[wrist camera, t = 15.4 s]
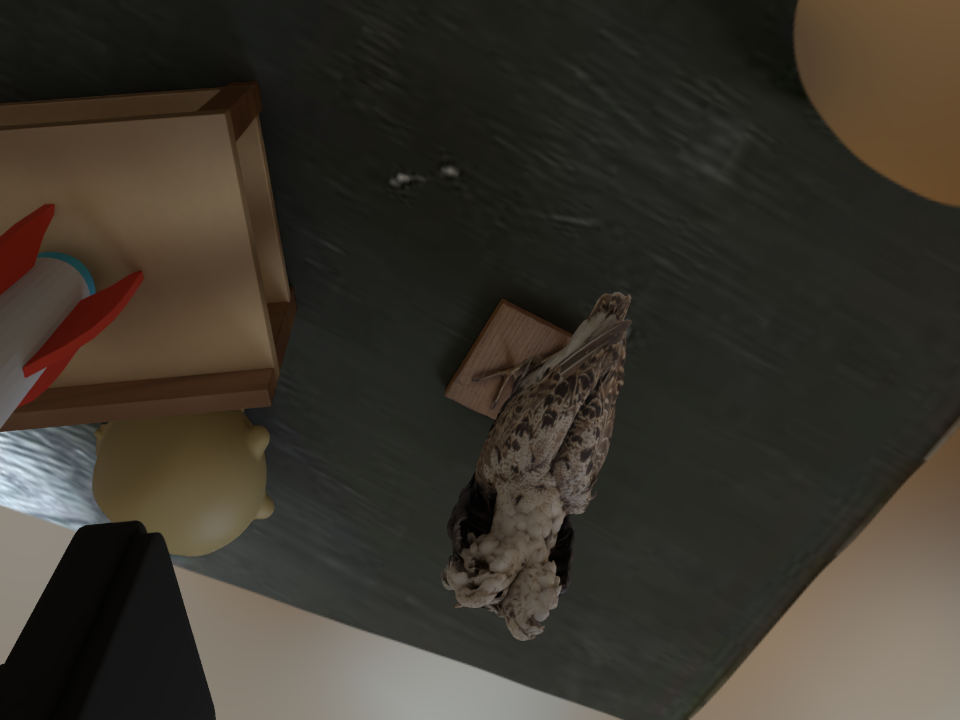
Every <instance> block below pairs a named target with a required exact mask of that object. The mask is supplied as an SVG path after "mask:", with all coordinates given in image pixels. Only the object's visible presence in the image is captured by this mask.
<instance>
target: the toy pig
mask: <svg viewBox="0 0 960 720" xmlns="http://www.w3.org/2000/svg"><path fill="white" fill-rule="evenodd" d="M243 412H244V409H237V410H226V411H216V412H205V413H195V414H184V415H173V416H163V417H152V418H142V419H131V420H121V421H110V422H101V426H100V428H99V430H96V431H95V436H96V437H97V442H96V455H97V460H96V464H95V468H94V473H93V481H92V490H93V495H94V498H95V501H96V503H97V504H98V506H99V507H100V509H101V510H102V512H103V513H104V514H105V515H106V517H107V518H108V519H109V520H110V521H111V522H112V523H114V522H124V521H134V520H137V521H140V522H142V523H143V525H144V526H145V527H146V530H147V532H148V533H153V532H159V533H161V534H162V535H163V537H164V539H165V542H166V544H167V548H168V551H169V553H171V554H175V555H180V556H202V555H206V554H209V553H211V552H214V551H216V550H218V549H220V548H222V547H224V546H225V545H227V544H229V543H230V542H231V541H233V540H234V539H235V538H237V537H238V536H239V535H240V534H241V533H242V532H243V531H244V530H245V529H246V528H247V527H248V526H249V524H250V523H251V522H252V520H254V519H266V518H268V517H269V516H270V515H271V514H272V513H273V511H274V502H273V500H272V499H271V498H270V496H269V495H268V494H267V493H266V491H265V487H266V478H267V468H266V459H265V454H264V450H265V449H266V447H267V445H268V443H269V439H270V436H269V432H268V430H267V429H266V428H265V427H263V426H260V425H256V426H253V425H252V423H251V422H250V420H249V419H248V418H247V417H246V416H245V415H244V414H243Z"/></svg>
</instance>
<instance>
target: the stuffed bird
mask: <svg viewBox="0 0 960 720" xmlns="http://www.w3.org/2000/svg"><path fill="white" fill-rule="evenodd" d="M630 299H631V297H630V295H629V294H628V295H627V297H625V296H624V295H623V294H622V293H619V292H615V293H613V294H606V293H605V294H603V295H602V296H601V297H600V298H599V299H598V301H597V303H596V305H595V307H594V309H593V310H592V312H591V314H590V316H589V318H588V319H587V320H585V321H583V322H582V323H581V324H580V326H579V327H578V329H577V330H576V331H575V333H574V334H571V333H569V332H567V331H565V330H564V329H561V328H559V327H557V326H555V325H554V324H552V323H550V322H548V321H546V320H544V319H542V318H540V317H538V316H536V315H534V314H533V313H530V312H528V311H526V310H524V309H522V308H521V307H519V306H517V305H515V304H513V303H511V302H509V301H507V300H505V299H503V298H502V299H501V300H500V302H499V304H498V305H497V307H496V308H495V310H494V312H493V313H492V315H491V316H490V318H489V320H488V321H487V323H486V325H485V326H484V328H483V329H482V331H481V333H480V334H479V336H478V337H477V339H476V341H475V342H474V344H473V346H472V347H471V349H470V350H469V352H468V354H467V355H466V357H465V358H464V360H463V362H462V363H461V365H460V366H459V368H458V370H457V371H456V373H455V374H454V376H453V378H452V379H451V381H450V382H449V384H448V386H447V388H446V390H445V397H446V398H450V399H452V400H454V401H456V402H458V403H460V404H462V405H464V406H466V407H468V408H470V409H472V410H474V411H476V412H478V413H481V414H483V415H485V416H489V417H490V418H492V419H495V421H494V423H493V425H492V427H491V429H490V431H489V432H490V433H489V435H488V437H487V439H486V441H485V443H484V445H483V447H482V450H481V453H480V456H479V459H478V462H477V467H476V472H475V473H474V474H473V476H472V479H471V480H470V482H469V484H468V485H467V486H466V487H465V488H463V489H462V491H461V493H460V496H459V500H458V503H457V505H455V506H454V508H453V511H452V514H451V518H450V520H449V522H448V525H447V531H448V535H449V537H450V539H451V540H452V543H453V556H451V555H450V557H449V558H448V564H447V566H446V569H445V571H444V569H442V573H441V578H442V582H443V585H444V587H445V588H446V589H448V590H454V591H455V593H456V599H457V600H458V602H459V603H458V604H456V605H455V606H454V607H455V608H459V607H462V606H466V607H471V608H478V607H481V606H482V608H486V609H487V610H488V611H491V612H492V611H493V612H495V613H496V614H497V615H498V616H500V617H504V618H505V620H506V625H507V627H508V629H509V630H510V632H511V633H512V635H513V636H514V637H515V638H516V639H518V640H521V641H525V640H528V639H533V638H535V637H536V635H537V634H540V633H542V632H543V631H544V630H543V631H542V629H544V627H545V626H544V625H543V626H540V624H539V623H538V621H541V622H542V621H543V620H545V619H546V618H547V617H548V616H549V610H550V609H554V608H556V607H557V606H558V605H557V603H558V597H559V596H561V595H562V594H563V593H565V592H566V591H567V590H568V588H569V584H570V582H571V575H572V569H571V563H572V561H573V558H574V552H573V543H574V537H575V532H574V531H573V528H572V526H571V523H570V522H569V521H568V520H569V517H570V516H569V514H581V513H583V512H585V511H586V509H587V507H588V504H589V503H590V502H591V501H592V500H593V498H594V497H595V496H596V494H597V491H596V493H594V495H593V496H592V497H591V492H590V491H591V490H592V488H593V487H594V485H595V483H596V481H597V478H598V477H597V478H596V476H597V474H598V472H599V470H600V468H601V467H602V465H603V463H604V461H605V458H606V455H607V452H608V449H609V445H610V441H611V436H612V430H613V426H614V421H615V404H616V398H617V396H618V393H619V390H620V388H621V387H622V385H623V384H622V383H624V382H623V378H624V365H625V361H626V359H625V355H626V347H627V346H626V339H625V338H626V337H625V334H626V330H627V329H628V327H629V326H630V325H631V322H632V321H631V320H624V317H625V315H626V313H627V310H628V307H629V304H630V301H631V300H630ZM623 320H624V321H623ZM624 359H625V361H624ZM623 362H624V364H623ZM622 366H623V368H622ZM595 478H596V480H595ZM594 480H595V481H594Z"/></svg>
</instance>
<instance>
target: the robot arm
mask: <svg viewBox="0 0 960 720" xmlns="http://www.w3.org/2000/svg"><path fill="white" fill-rule="evenodd" d="M0 720H216V717H215V709H214V705H213V702H212V698H211V694H210V691H209V688H208V684H207V681H206V677H205V674H204V671H203V668H202V664H201V660H200V657H199V654H198V650H197V647H196V643H195V640H194V636H193V633H192V630H191V627H190V623H189V619H188V616H187V613H186V609H185V606H184V603H183V599H182V596H181V592H180V589H179V585H178V582H177V579H176V575H175V572H174V568H173V565H172V561H171V558H170V555H169V551H168V548H167V544H166V542H165V539H164V537H163V535H162V534H161V533H159V532H153V533H148V532H147V530H146V527H145V526H144V525H143V523H142V522H140V521H137V520H134V521H124V522H114V523H104V524H94V525H85V526H83V527H81V528H79V529H78V531H77V532H76V533H75V535H74V537H73V538H72V540H71V542H70V544H69V546H68V548H67V549H66V551H65V553H64V555H63V557H62V559H61V560H60V562H59V564H58V566H57V568H56V570H55V572H54V573H53V575H52V577H51V579H50V581H49V583H48V584H47V586H46V588H45V590H44V592H43V593H42V595H41V597H40V599H39V601H38V603H37V605H36V606H35V608H34V610H33V612H32V614H31V616H30V617H29V619H28V621H27V623H26V625H25V627H24V629H23V630H22V632H21V634H20V636H19V638H18V640H17V641H16V643H15V645H14V647H13V649H12V651H11V652H10V654H9V656H8V658H7V660H6V662H5V664H1V665H0Z"/></svg>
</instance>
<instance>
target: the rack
mask: <svg viewBox="0 0 960 720" xmlns="http://www.w3.org/2000/svg"><path fill="white" fill-rule="evenodd" d="M261 110H262V103H261V97H260V91H259V86H258V82H257V81H245V82H231V83H229V84H228V85H226V86H225V87H215V88H201V89H188V90H174V91H161V92H147V93H134V94H120V95H107V96H93V97H80V98H66V99H53V100H39V101H26V102H12V103H0V236H1V235H3V234H4V233H5V232H6V231H7V230H8V229H9V228H11V227H12V226H13V225H14V224H15V223H17V222H18V221H20V220H21V219H23V218H24V217H26V216H27V215H29V214H30V213H32V212H33V211H35V210H36V209H38V208H39V207H41V206H42V205H44V204H55V206H54V216H53V218H52V220H51V222H50V224H49V226H48V228H47V230H46V232H45V234H44V237H43V240H42V243H41V246H40V249H39V252H38V253H42V252H59V253H64V254H67V255H70V256H72V257H74V258H76V259H78V260H79V261H80V262H81V263H82V264H84V265H85V267H86V268H87V269H88V270H89V272H90V274H91V276H92V278H93V281H94V284H95V291H96V293H97V292H99V291H101V290H103V289H105V288H108V287H110V286H112V285H113V284H115V283H117V282H118V281H120V280H121V279H123V278H125V277H126V276H128V275H129V274H131V273H134V272H138V271H142V272H143V277H144V280H143V281H142V283H141V284H140V286H139V287H138V289H137V290H136V292H135V293H134V295H133V296H132V298H131V299H130V301H129V302H128V304H127V305H126V307H125V308H124V309H123V310H122V311H121V312H120V314H119V315H118V316H117V317H116V318H115V319H114V321H113V322H112V323H110V324H109V325H108V326H107V327H106V328H105V329H104V330H103V331H101V332H100V333H99V334H98V335H97V336H96V337H95V338H94V339H92V340H91V341H89V342H88V343H86V344H85V345H83V346H82V347H80V348H79V349H78V351H77V352H76V354H75V355H74V356H73V358H72V359H71V360H70V362H69V363H68V365H67V366H66V367H65V369H64V370H63V372H62V373H61V374H60V375H59V376H58V377H57V378H56V380H55V381H54V382H53V383H52V384H51V385H50V386H49V388H47V389H46V390H45V391H44V392H43V393H41V394H40V395H39V396H38V397H37V398H35V399H34V400H33V401H32V402H29V403H27V404H25V405H23V406H21V407H18V408H16V409H15V410H14V411H13V413H12V414H11V415H10V417H9V418H8V419H7V421H6V422H5V423H4V425H3V426H2V427H1V429H0V432H5V431H15V430H26V429H36V428H47V427H57V426H68V425H78V424H89V423H100V422H110V421H121V420H131V419H142V418H152V417H163V416H173V415H184V414H195V413H205V412H216V411H226V410H237V409H247V408H258V407H268V406H271V404H272V401H273V397H274V393H275V390H276V386H277V382H278V378H279V375H280V370H281V366H282V363H283V359H284V355H285V351H286V348H287V344H288V340H289V337H290V333H291V329H292V326H293V322H294V319H295V315H296V311H297V305H296V299H295V293H294V288H293V287H289V284H288V278H287V272H286V266H285V261H284V255H283V249H282V244H281V238H280V232H279V227H278V221H277V215H276V210H275V204H274V198H273V192H272V187H271V181H270V175H269V170H268V164H267V158H266V153H265V147H264V141H263V136H262V130H261V124H260V119H259V113H260V112H261Z"/></svg>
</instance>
